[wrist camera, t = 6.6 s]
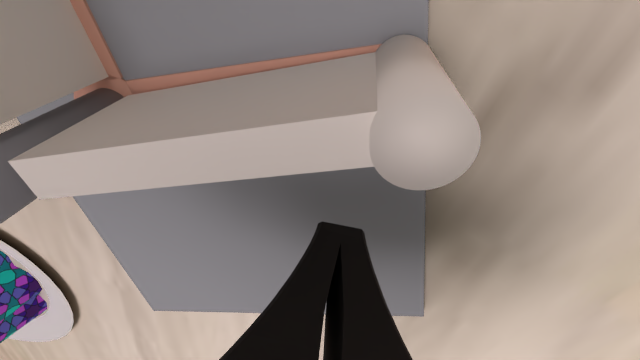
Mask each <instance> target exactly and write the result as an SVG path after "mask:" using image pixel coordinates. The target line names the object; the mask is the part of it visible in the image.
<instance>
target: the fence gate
mask: <svg viewBox="0 0 640 360" xmlns="http://www.w3.org/2000/svg"><path fill="white" fill-rule="evenodd" d="M480 143H481V132H480V127H479V124H478V121H477V120H476V118H475V116H474V114H473V113H472V111H471V110H470V108H469V107H468V105H467V104H466V102H465V101H464V99H463V98H462V96H461V95H460V93H459V92H458V90H457V89H456V87H455V86H454V84H453V83H452V81H451V80H450V78H449V77H448V75H447V73H446V72H445V70H444V69H443V67H442V66H441V64H440V63H439V61H438V60H437V58H436V57H435V55H434V54H433V52H432V51H431V49H430V48H429V46H428V45H427V44H426V43H425V42H424V41H423V40H422V39H420V38H418V37H416V36H413V35H398V36H394V37H392V38H390V39H388V40H386V41H385V42H384V43H383V44H381V45H380V47H379V48H378V49H377V50H376V52H373V53H367V54H361V55H356V56H350V57H344V58H339V59H333V60H327V61H321V62H316V63H310V64H304V65H299V66H293V67H287V68H281V69H276V70H270V71H264V72H259V73H253V74H247V75H242V76H236V77H230V78H224V79H219V80H213V81H207V82H202V83H196V84H190V85H185V86H179V87H173V88H167V89H162V90H156V91H150V92H145V93H139V94H133V95H128V96H126V97H124V98H122V99H120V100H118V101H117V102H115V103H113V104H111V105H109V106H108V107H106V108H104V109H102V110H100V111H98V112H97V113H95V114H93V115H91V116H89V117H87V118H86V119H84V120H82V121H80V122H78V123H77V124H75V125H73V126H71V127H69V128H67V129H66V130H64V131H62V132H60V133H58V134H57V135H55V136H53V137H51V138H49V139H47V140H46V141H44V142H42V143H40V144H38V145H37V146H35V147H33V148H31V149H29V150H27V151H26V152H24V153H22V154H20V155H18V156H17V157H15V158H13V159H11V160H9V161H8V162H9V164H10V165H11V166H12V167H13V168H14V170H15V171H16V172H17V173H18V174H19V176H20V177H21V178H22V179H23V181H24V182H25V183H26V184H27V185H28V187H29V188H30V189H31V190H32V192H33V193H34V194H35V195H36V196H37V198H38V199H39V200H42V199H52V198H62V197H72V196H82V195H92V194H102V193H112V192H122V191H133V190H143V189H153V188H163V187H173V186H183V185H193V184H203V183H213V182H224V181H234V180H244V179H254V178H264V177H274V176H284V175H294V174H304V173H314V172H325V171H335V170H345V169H355V168H365V167H375V169H376V170H377V172H378V173H379V174H380V175H381V176H382V177H383V178H384V179H385V180H387V181H388V182H390V183H391V184H393V185H396V186H398V187H401V188H404V189H409V190H430V189H435V188H439V187H442V186H445V185H447V184H449V183H451V182H453V181H454V180H456V179H457V178H459V177H460V176H461V175H463V174H464V173H465V172H466V171H467V170H468V169H469V167H470V166H471V165H472V164H473V162H474V160H475V159H476V157H477V154H478V152H479V149H480Z"/></svg>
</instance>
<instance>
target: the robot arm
mask: <svg viewBox="0 0 640 360" xmlns="http://www.w3.org/2000/svg"><path fill="white" fill-rule="evenodd" d="M325 306H326V319H325V337H324V356H323V360H412V358H411V356H410V354H409V352H408V350H407V348H406V346H405V344H404V342H403V340H402V338H401V336H400V333H399V331H398V329H397V327H396V325H395V322H394V320H393V318H392V315H391V313H390V311H389V309H388V306H387V304H386V301H385V299H384V296H383V293H382V291H381V288H380V285H379V283H378V280H377V277H376V274H375V271H374V268H373V265H372V262H371V258H370V255H369V251H368V247H367V243H366V239H365V233H364V231H363V230H362V229H359V228H354V227H349V226H343V225H338V224H333V223H328V222H323V221H322V222H320V223H318V225H317V228H316V231H315V233H314V236H313V238H312V240H311V242H310V244H309V246H308V247H307V249H306V251H305V253H304V255H303V256H302V258H301V259H300V261H299V263H298V264H297V266H296V267H295V269H294V270H293V272H292V274H291V275H290V276H289V278H288V279H287V281H286V282H285V283H284V285H283V286H282V287H281V289H280V290H279V292H278V293H277V294H276V296H275V297H274V298H273V300H272V301H271V302H270V303H269V305H268V306H267V307H266V308H265V310H264V311H263V312H262V313H261V314H260V316H259V317H258V318H257V319H256V320H255V321H254V323H253V324H252V325H251V326H250V327H249V328H248V330H247V331H246V332H245V333H244V334H243V335H242V336H241V337H240V338H239V339H238V340H237V341H236V343H235V344H234V345H233V346H232V347H231V348H230V349H229V350H228V351H227V352H226V353H225V354H224V355H223V356H222V357H221V358H220V359H219V360H318V359H319V350H320V342H321V334H322V325H323V317H324V311H325Z"/></svg>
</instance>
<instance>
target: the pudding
mask: <svg viewBox="0 0 640 360" xmlns="http://www.w3.org/2000/svg"><path fill="white" fill-rule="evenodd" d="M0 249H1V250H2V251H4V252H6V253H7V254H9V255H10V256H11V257H13V258H14V259H15V260H17V261H18V262H19V263H21V264H22V265H23V266H24V267H25V268H26V269H28V270H29V271H30V272H31V273H32V274H33V275H34V276H35V277H36V279H37V280H38V281H39V282H40V283H41V285H42V286H43V288H44V289H45V291H46V293H47V295H48V298H49V309H48V311H47V312H46V313H45V314H44V315H42V316H41V317H38V318H36V317H37V316H38V315H40V314H41V313H43V312H44V311H45V310H46V309H47V303H46V302H45V301H44V300H43V299H42V298H41V297H40V296H39V295H38V294H39V293H40V291H41V290H42V288H41V286H40V285H39V283H38V281H37V280H36V279H35V278H34V277H33V276H31V275H30V274H29V273H28V272H26V271H24V270H22V269H20V268H18V267H16V266H14V264H13V263H12V262H11V260H10V259H9V257H8V256H7V255H6V254H4V253H3V252H2V251H0V343H1V342H2V341H4V340H5V339H6V338H10V339H15V340H21V341H32V342H46V341H53V340H57V339H60V338H62V337H64V336H66V335H67V334H68V333H69V332H70V331H71V329H72V326H73V323H74V320H73V312H72V310H71V307H70V305H69V303H68V301H67V300H66V298H65V296H64V295H63V293H62V292H61V290H60V289H59V288H58V287H57V286H56V285H55V284H54V282H53V281H52V280H51V279H50V278H49V277H48V276H47V275H46V274H45V273H44V272H43V271H41V270H40V269H39V268H38V267H37V266H36V265H35V264H34V263H32V262H31V261H30V260H28V259H27V258H26V257H25V256H23V255H22V254H21V253H19V252H18V251H17V250H15V249H14V248H12V247H11V246H9V245H7V244H6V243H4V242H3V241H1V240H0Z"/></svg>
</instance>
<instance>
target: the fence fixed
mask: <svg viewBox="0 0 640 360" xmlns="http://www.w3.org/2000/svg"><path fill="white" fill-rule="evenodd" d="M107 77H109V76H108V74H107V72H106V70H105V68H104V66H103V65H102V63H101V61H100V59H99V57H98V55H97V53H96V51H95V49H94V47H93V45H92V43H91V41H90V39H89V37H88V35H87V33H86V31H85V29H84V27H83V25H82V23H81V21H80V19H79V18H78V16H77V14H76V12H75V10H74V8H73V6H72V4H71V2H70V0H0V124H2V123H5V122H7V121H9V120H12V119H14V118H16V117H18V116H21V115H23V114H25V113H27V112H30V111H32V110H34V109H37V108H39V107H41V106H43V105H46V104H48V103H50V102H52V101H55V100H57V99H59V98H62V97H64V96H66V95H68V94H71V93H73V92H75V91H78V90H80V89H82V88H84V87H87V86H89V85H91V84H93V83H96V82H98V81H100V80H103V79H105V78H107ZM122 98H124V97H123V96H122V95H121V94H119V93H118V92H116V91H114V90H111V89H107V88H99V89H96V90H94V91H92V92H89V93H87V94H85V95H83V96H81V97H79V98H76V99H74V100H72V101H70V102H68V103H66V104H64V105H61V106H59V107H57V108H55V109H53V110H51V111H49V112H46V113H44V114H42V115H40V116H38V117H36V118H33V119H31V120H29V121H27V122H25V123H23V124H21V125H18V126H16V127H14V128H12V129H10V130H8V131H6V132H3V133H1V134H0V223H2V222H4V221H5V220H7V219H8V218H9V217H11V216H12V215H14V214H15V213H17V212H18V211H19V210H21V209H22V208H24V207H25V206H26V205H28V204H29V203H31V202H32V201H33V200H35V199H36V198H37V196H36V195H35V194H34V193H33V192H32V190H31V189H30V188H29V187H28V185H27V184H26V183H25V182H24V181H23V179H22V178H21V177H20V176H19V174H18V173H17V172H16V171H15V170H14V168H13V167H12V166H11V165H10V164H9V162H8V161H9V160H11V159H13V158H15V157H17V156H18V155H20V154H22V153H24V152H26V151H27V150H29V149H31V148H33V147H35V146H37V145H38V144H40V143H42V142H44V141H46V140H47V139H49V138H51V137H53V136H55V135H57V134H58V133H60V132H62V131H64V130H66V129H67V128H69V127H71V126H73V125H75V124H77V123H78V122H80V121H82V120H84V119H86V118H87V117H89V116H91V115H93V114H95V113H97V112H98V111H100V110H102V109H104V108H106V107H108V106H109V105H111V104H113V103H115V102H117V101H118V100H120V99H122Z"/></svg>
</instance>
